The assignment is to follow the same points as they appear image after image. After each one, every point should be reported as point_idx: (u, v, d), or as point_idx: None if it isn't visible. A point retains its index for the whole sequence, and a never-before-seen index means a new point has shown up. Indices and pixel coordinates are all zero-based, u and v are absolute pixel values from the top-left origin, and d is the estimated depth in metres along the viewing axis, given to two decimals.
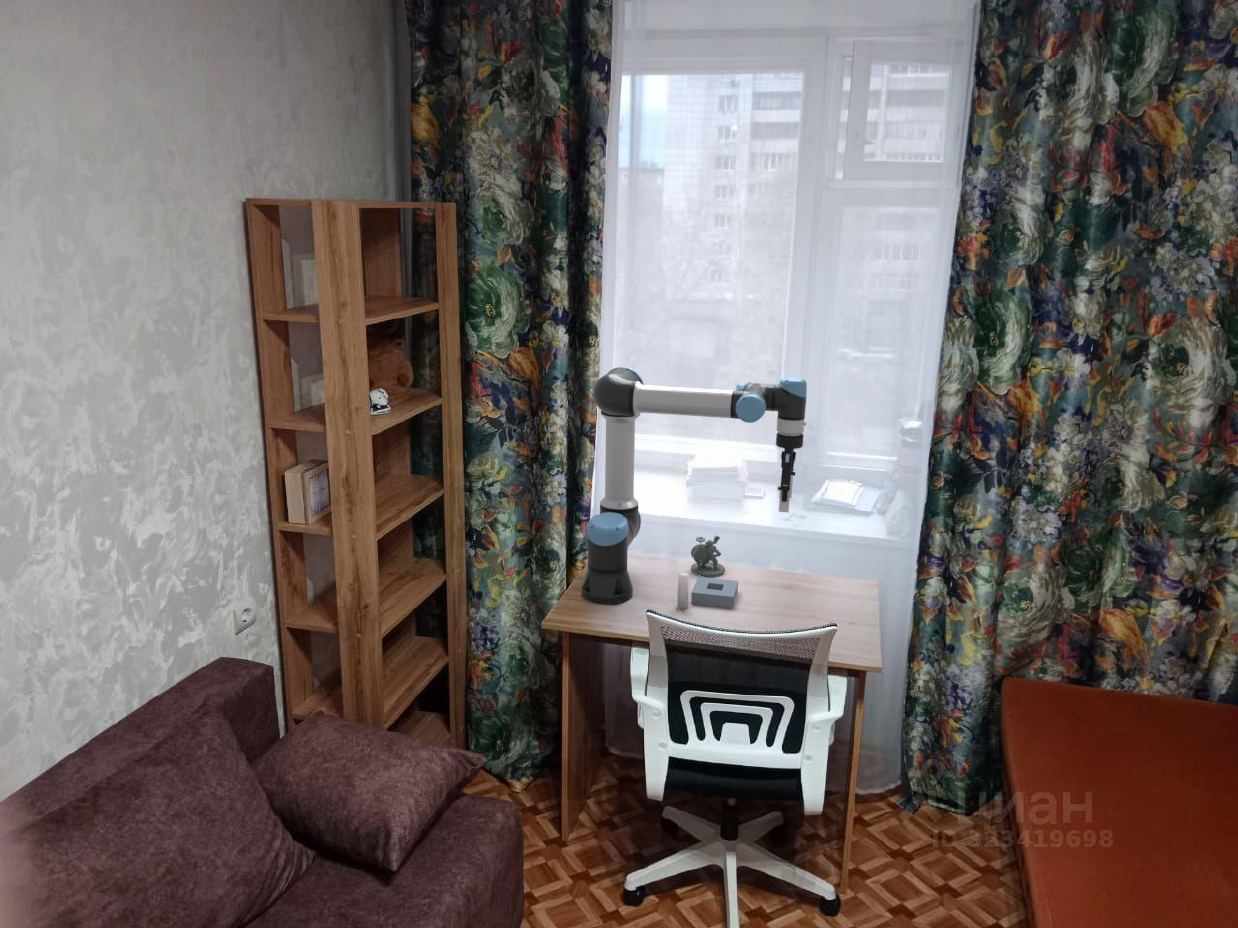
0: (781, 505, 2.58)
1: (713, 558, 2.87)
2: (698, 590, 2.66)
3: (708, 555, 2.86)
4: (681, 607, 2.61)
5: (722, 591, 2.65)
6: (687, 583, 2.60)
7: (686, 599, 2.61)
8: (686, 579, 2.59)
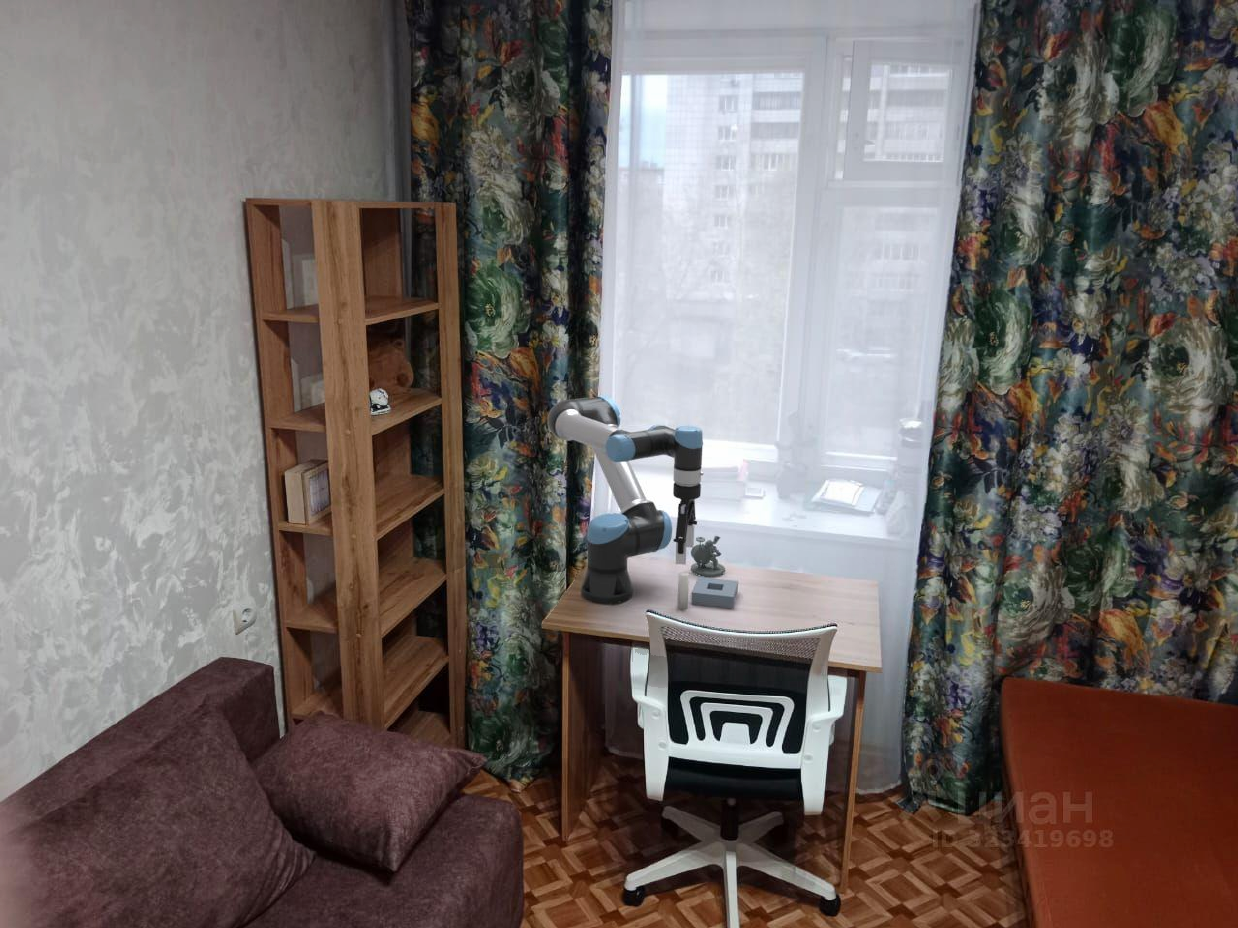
0: (678, 557, 2.51)
1: (713, 558, 2.87)
2: (698, 590, 2.66)
3: (708, 555, 2.86)
4: (681, 607, 2.61)
5: (722, 591, 2.65)
6: (687, 583, 2.60)
7: (686, 599, 2.61)
8: (686, 579, 2.59)
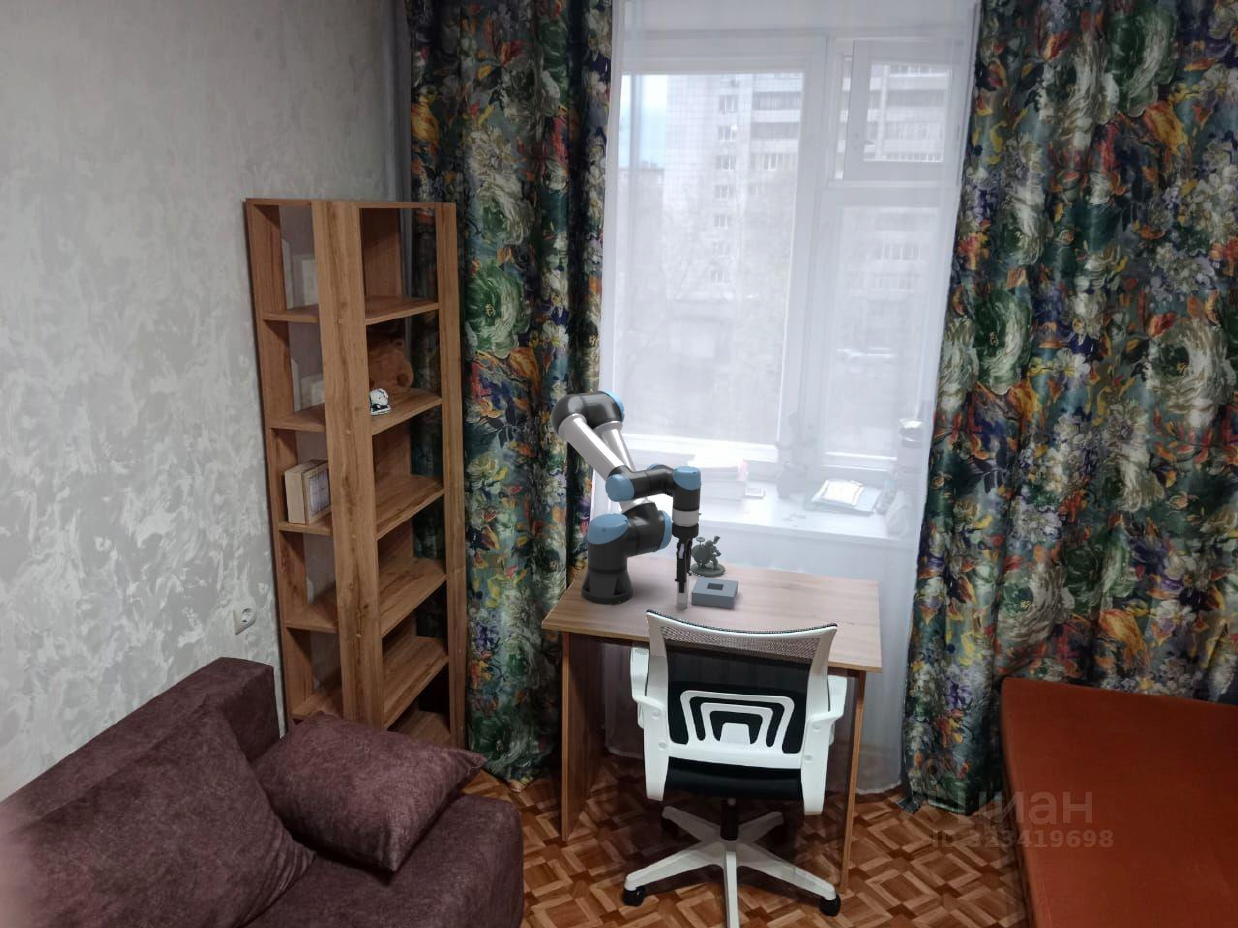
0: (679, 596, 2.60)
1: (713, 558, 2.87)
2: (698, 590, 2.66)
3: (708, 555, 2.86)
4: (681, 607, 2.62)
5: (722, 591, 2.65)
6: (687, 583, 2.60)
7: None
8: None
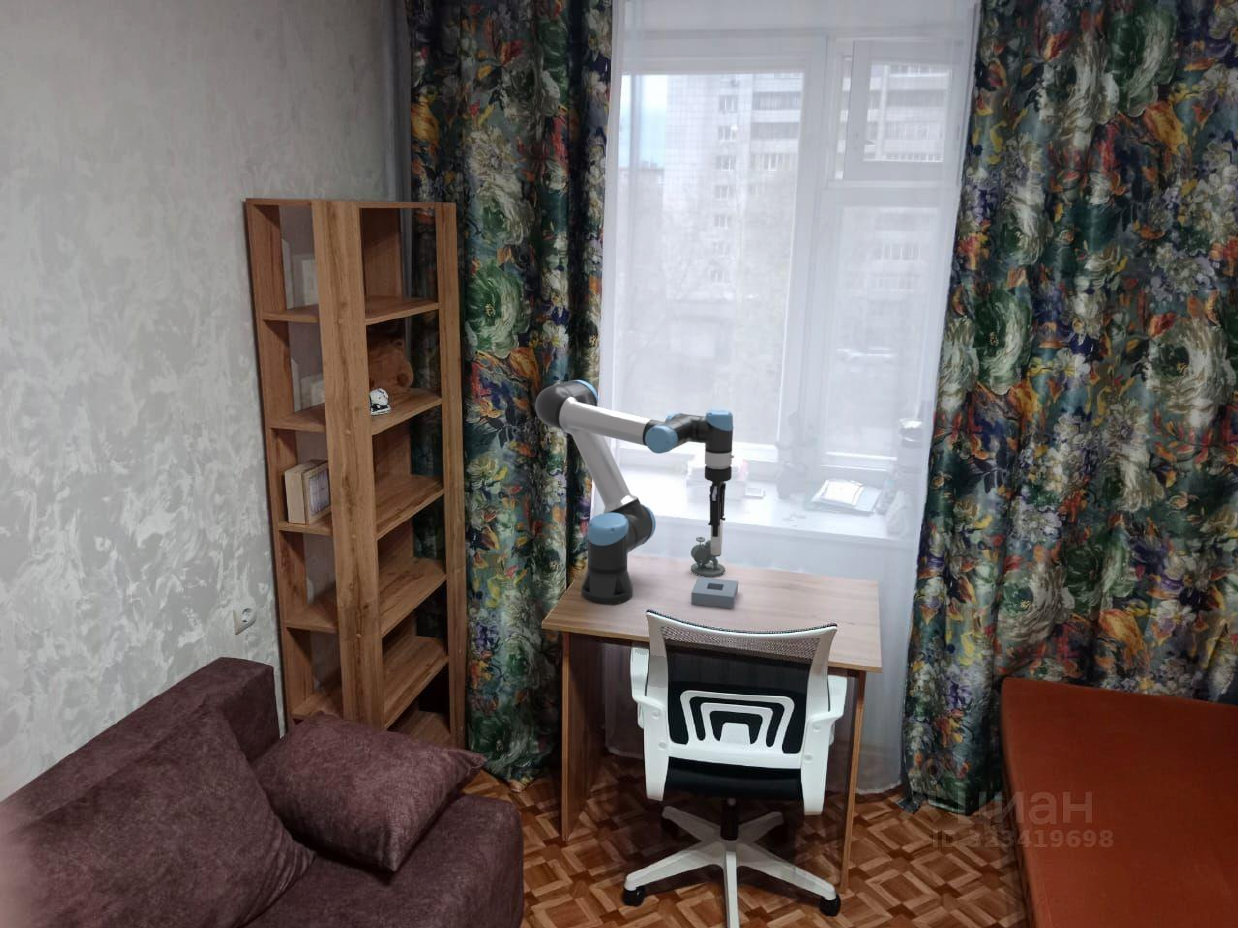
0: (712, 540, 2.62)
1: (713, 558, 2.87)
2: (698, 590, 2.66)
3: (708, 555, 2.86)
4: (715, 553, 2.63)
5: (722, 591, 2.65)
6: None
7: None
8: None
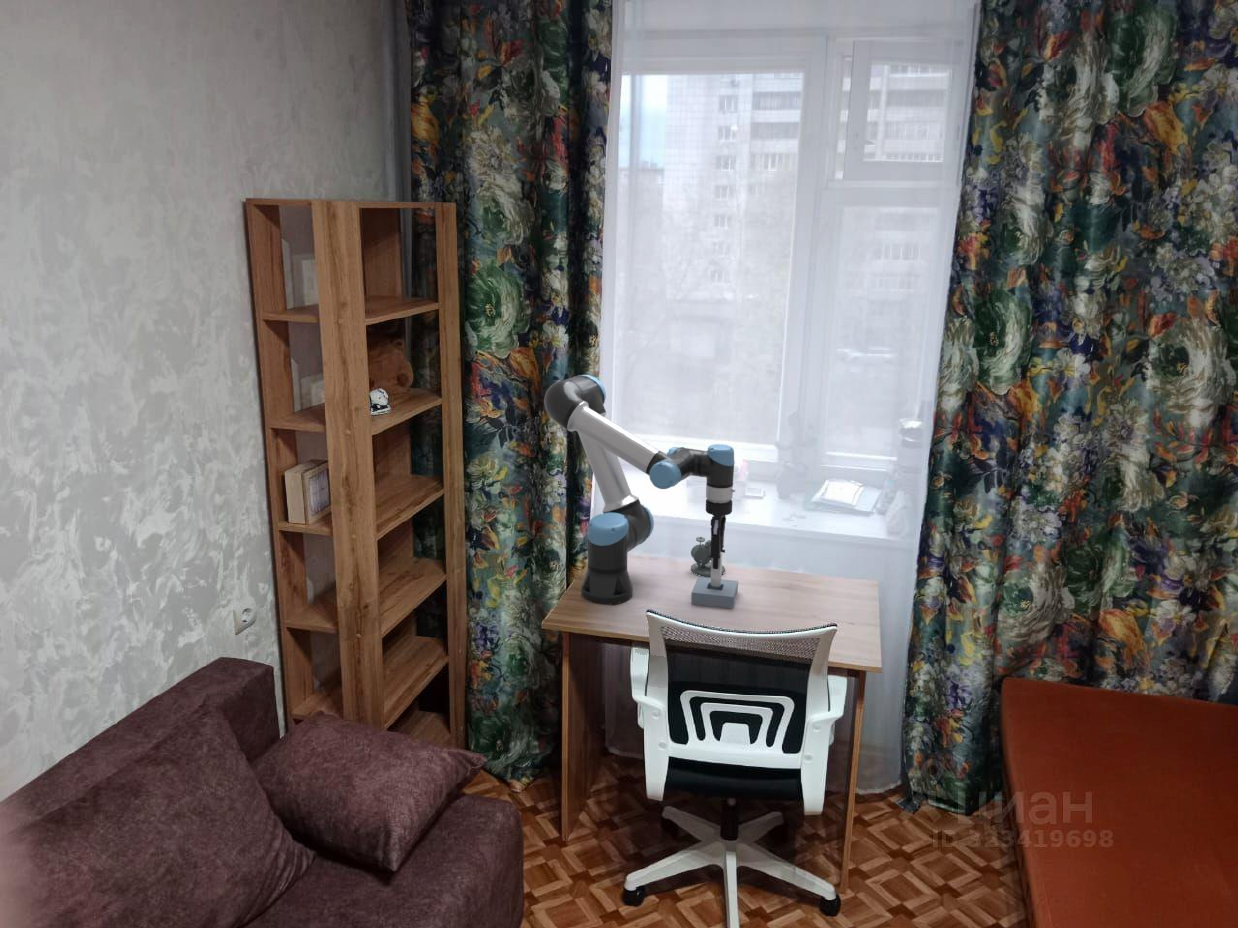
0: (713, 572, 2.65)
1: None
2: (698, 590, 2.66)
3: (708, 555, 2.86)
4: (715, 585, 2.67)
5: (722, 591, 2.65)
6: None
7: None
8: None
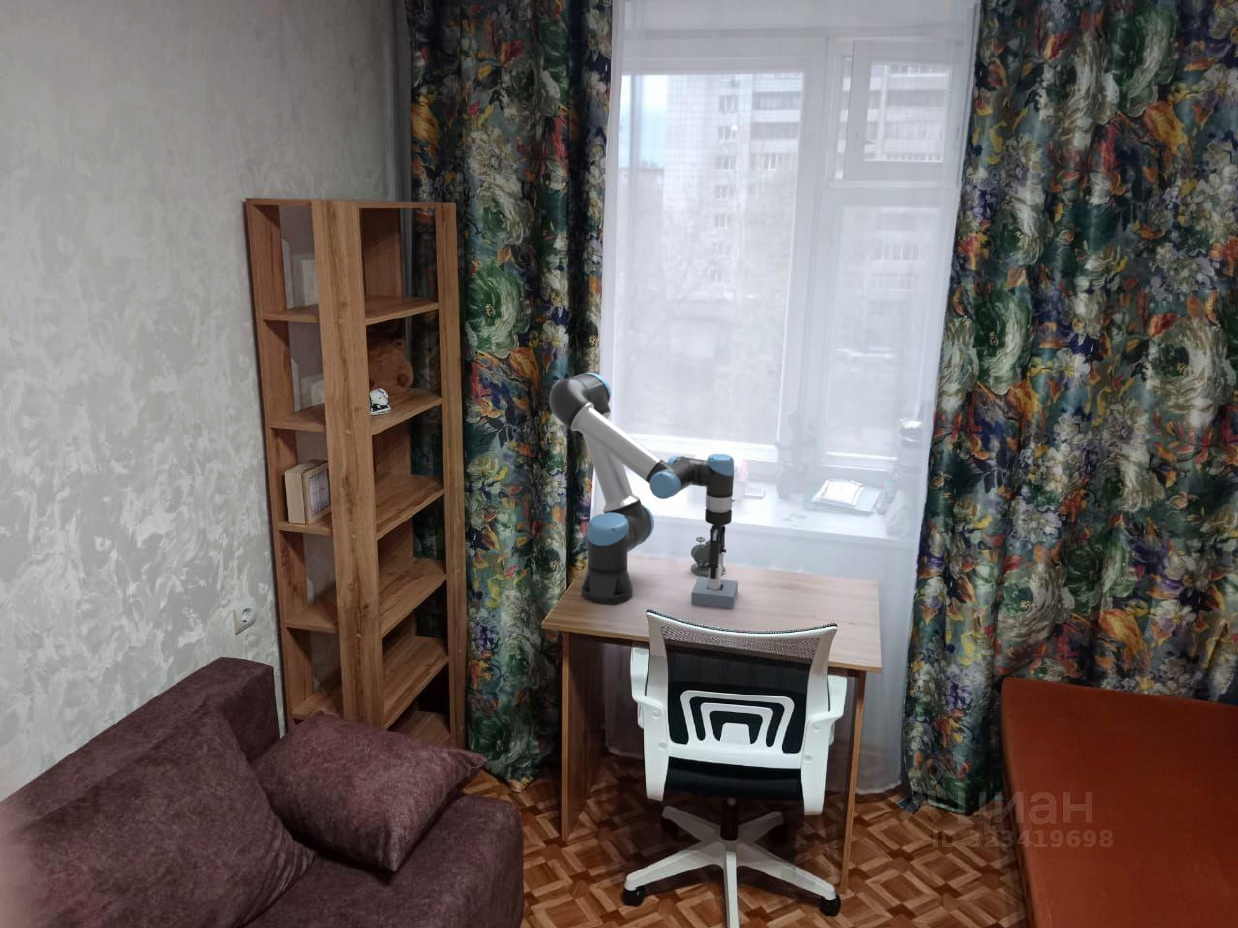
0: (710, 582, 2.62)
1: None
2: (698, 590, 2.66)
3: (708, 555, 2.86)
4: None
5: (722, 591, 2.65)
6: (719, 574, 2.67)
7: None
8: (719, 570, 2.66)
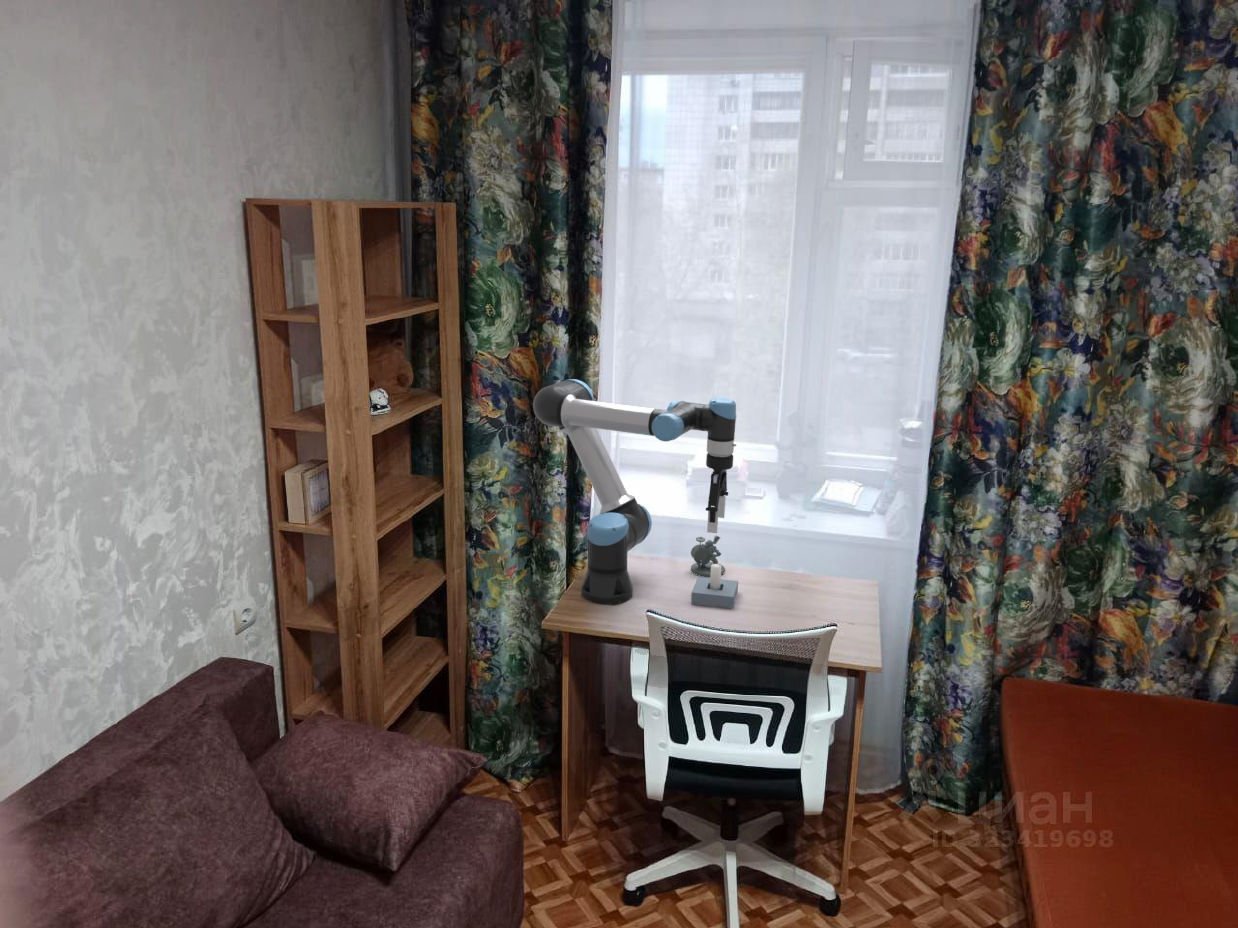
0: (709, 526, 2.58)
1: (713, 558, 2.87)
2: (698, 590, 2.66)
3: (708, 555, 2.86)
4: None
5: (722, 591, 2.65)
6: (719, 574, 2.66)
7: None
8: (718, 570, 2.66)
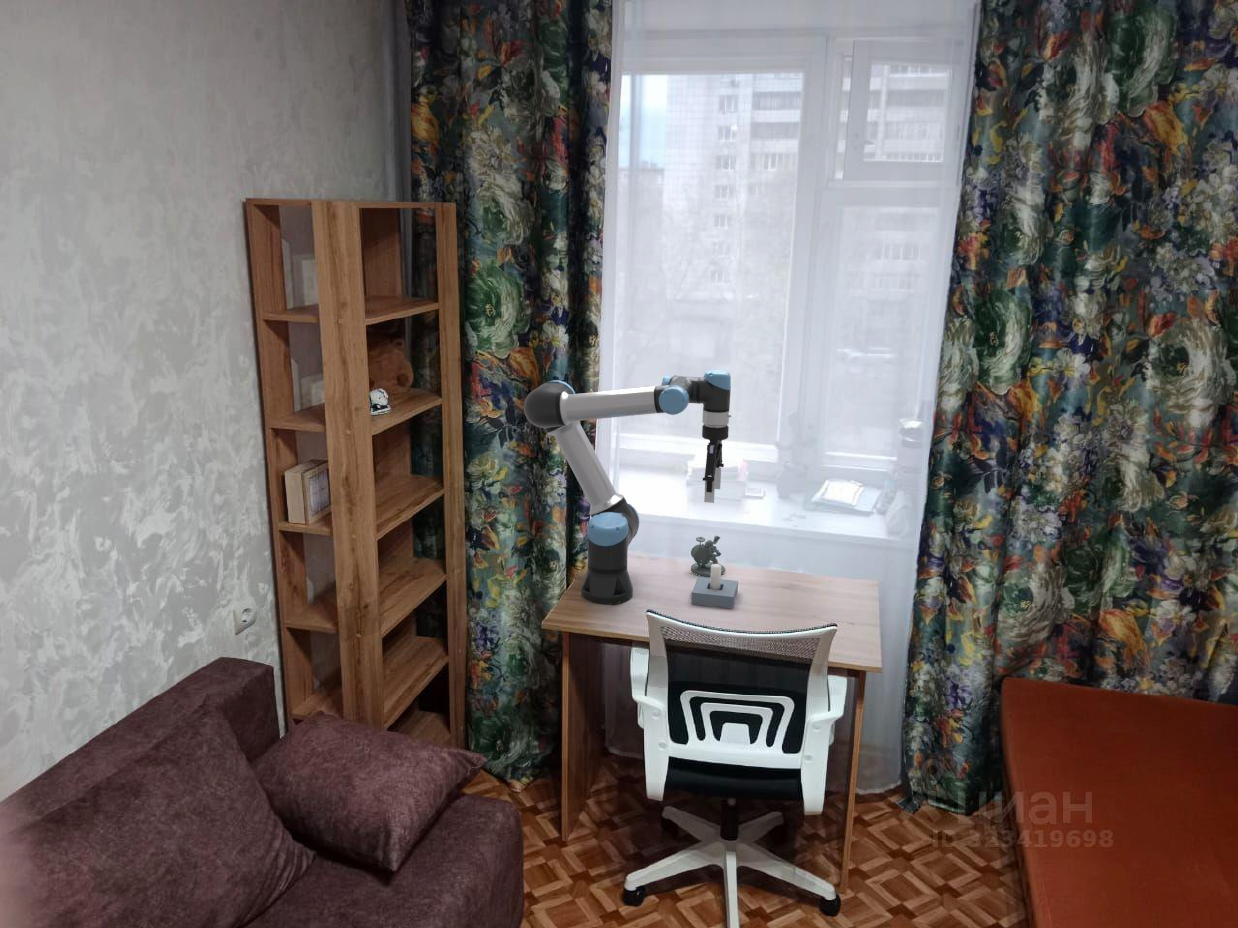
0: (706, 495, 2.63)
1: (713, 558, 2.87)
2: (698, 590, 2.66)
3: (708, 555, 2.86)
4: None
5: (722, 591, 2.65)
6: (719, 574, 2.66)
7: None
8: (718, 570, 2.66)
